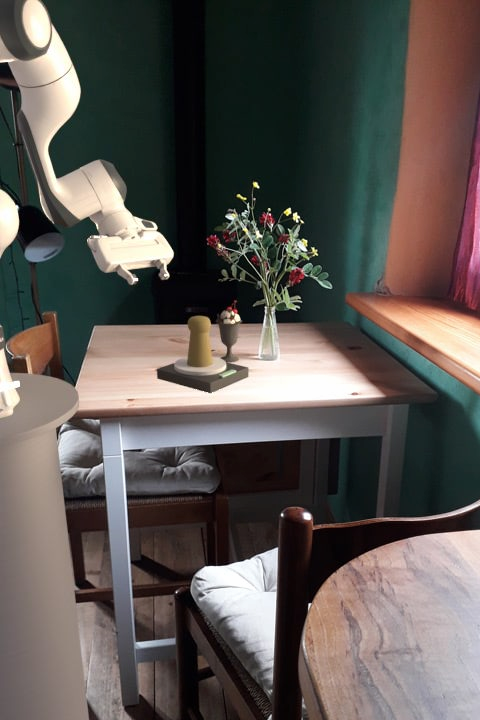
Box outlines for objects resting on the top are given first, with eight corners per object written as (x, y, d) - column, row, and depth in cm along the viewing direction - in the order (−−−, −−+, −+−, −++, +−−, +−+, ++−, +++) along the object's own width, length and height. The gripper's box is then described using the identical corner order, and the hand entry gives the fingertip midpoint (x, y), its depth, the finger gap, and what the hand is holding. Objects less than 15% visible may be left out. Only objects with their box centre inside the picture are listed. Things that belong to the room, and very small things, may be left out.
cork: (211, 367, 140) (211, 320, 136) (185, 367, 140) (183, 319, 136) (214, 359, 146) (213, 314, 142) (188, 359, 146) (187, 313, 142)
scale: (210, 393, 134) (210, 378, 133) (157, 378, 143) (156, 364, 141) (248, 377, 145) (248, 363, 144) (196, 364, 153) (196, 350, 152)
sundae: (246, 357, 159) (246, 299, 154) (236, 364, 153) (236, 305, 148) (222, 354, 161) (222, 297, 156) (212, 361, 155) (211, 302, 150)
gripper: (89, 226, 136) (119, 277, 133) (160, 222, 150) (188, 267, 148) (78, 245, 140) (108, 294, 138) (148, 239, 155) (176, 283, 152)
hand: (150, 280), depth 143 cm, fingers open, 8 cm apart
